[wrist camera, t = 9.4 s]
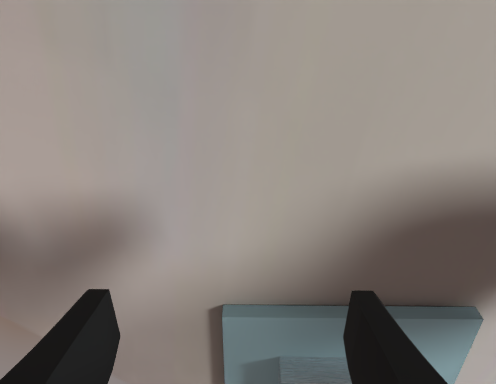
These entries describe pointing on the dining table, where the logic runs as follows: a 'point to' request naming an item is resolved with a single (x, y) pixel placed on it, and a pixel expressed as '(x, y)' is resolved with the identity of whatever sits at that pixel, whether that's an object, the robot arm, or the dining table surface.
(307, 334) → the board
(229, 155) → the dining table surface
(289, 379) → the socket
